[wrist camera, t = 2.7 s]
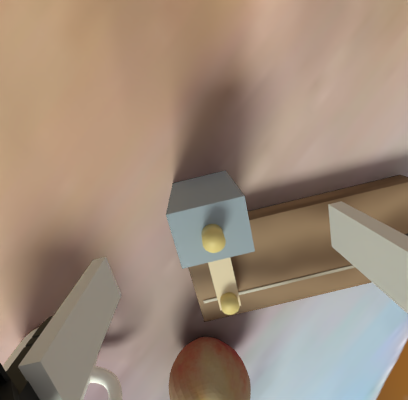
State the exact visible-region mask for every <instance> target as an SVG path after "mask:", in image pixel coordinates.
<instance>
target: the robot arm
mask: <svg viewBox="0 0 408 400" xmlns="http://www.w3.org/2000/svg"><path fill="white" fill-rule="evenodd" d="M328 208H329V220H330V232H331V245H332V247H333V248H334V249H335V250H336V251H337V252H338V253H340V254H341V255H342V256H343V257H344V258H345V259H346V260H348V261H349V262H350V263H351V264H352V265H353V266H354V267H356V268H357V269H358V270H359V271H360V272H361V273H362V274H363V275H365V276H366V277H367V278H368V279H369V280H370V281H371V282H373V283H374V284H375V285H376V286H377V287H378V288H379V289H380V290H382V291H383V292H384V293H385V294H386V295H387V296H388V297H390V298H391V299H392V300H393V301H394V302H395V303H396V304H398V305H399V306H400V307H401V308H402V309H403V310H404V311H405V312H407V313H408V233H407V234H403V233H401V232H399V231H397V230H395V229H393V228H391V227H389V226H388V225H386V224H384V223H382V222H380V221H378V220H376V219H374V218H372V217H370V216H368V215H367V214H365V213H363V212H361V211H359V210H357V209H355V208H353V207H351V206H349V205H348V204H346V203H344V202H342V201H341V202H336V203H332V204H328ZM120 298H121V293H120V290H119V288H118V285H117V283H116V280H115V278H114V275H113V273H112V270H111V268H110V265H109V263H108V261H107V258H106V257H102V258H98V259H94V260H93V261H92V262H91V264H90V265H89V266H88V268H87V269H86V271H85V272H84V273H83V275H82V276H81V278H80V279H79V281H78V282H77V283H76V285H75V286H74V288H73V289H72V290H71V292H70V293H69V295H68V296H67V298H66V299H65V300H64V302H63V303H62V305H61V306H60V307H59V309H58V310H57V312H56V313H55V315H54V316H52V317H49V318H48V319H47V320H46V321H45V322H44V323H43V324H42V325H41V326H39V328H38V329H37V330H36V332H35V333H34V334H33V336H32V338H31V339H30V340H29V341H28V343H27V344H26V347H24V348H23V349H22V351H21V352H20V353H19V355H18V356H17V358H16V359H15V360H14V362H13V363H12V364H11V366H10V367H9V368H8V370H7V371H5V370H4V368H3V366H2V365H1V363H0V400H80V398H81V396H82V393H83V391H84V388H85V386H86V383H87V380H88V378H89V375H90V373H91V370H92V368H93V365H94V363H95V360H96V358H97V355H98V353H99V350H100V348H101V345H102V343H103V340H104V338H105V335H106V333H107V330H108V328H109V325H110V323H111V320H112V318H113V315H114V313H115V310H116V308H117V305H118V303H119V300H120Z"/></svg>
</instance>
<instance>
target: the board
mask: <svg viewBox="0 0 408 400" xmlns="http://www.w3.org/2000/svg"><path fill="white" fill-rule="evenodd" d="M341 201H342V202H344V203H346V204H348V205H349V206H351V207H353V208H355V209H357V210H359V211H361V212H363V213H365V214H367V215H368V216H370V217H372V218H374V219H376V220H378V221H380V222H382V223H384V224H386V225H388V226H389V227H391V228H393V229H395V230H397V231H399V232H401V233H403V234H407V233H408V177H406V176H402V175H398V176H393V177H389V178H385V179H381V180H377V181H373V182H369V183H364V184H360V185H356V186H352V187H348V188H344V189H339V190H335V191H331V192H327V193H323V194H319V195H315V196H310V197H306V198H302V199H298V200H294V201H290V202H285V203H281V204H277V205H273V206H269V207H265V208H261V209H256V210H252V211H248V217H249V222H250V227H251V233H252V238H253V243H254V249H255V251H254V252H250V253H246V254H242V255H238V256H233V257H230V258H231V262H232V267H233V271H234V276H235V280H236V284H237V289H238V293H239V298H240V302H241V306H240V307H239V310H238V311H237V312H236V313H235V314H232V315H236V314H240V313H244V312H249V311H253V310H257V309H261V308H265V307H270V306H274V305H278V304H282V303H286V302H291V301H295V300H299V299H303V298H308V297H312V296H316V295H320V294H324V293H329V292H333V291H337V290H341V289H345V288H350V287H354V286H358V285H362V284H367V283H371V281H370V280H369V279H368V278H367V277H366V276H365V275H363V274H362V273H361V272H360V271H359V270H358V269H357V268H356V267H354V266H353V265H352V264H351V263H350V262H349V261H348V260H346V259H345V258H344V257H343V256H342V255H341V254H340V253H338V252H337V251H336V250H335V249H334V248H333V247H332V245H331V232H330V220H329V208H328V204H332V203H336V202H341ZM188 268H189V271H190V275H191V278H192V281H193V285H194V288H195V292H196V295H197V298H198V302H199V305H200V309H201V312H202V316H203V319H204V322H206V321H211V320H215V319H219V318H223V317H227V316H232V315H227V314H225V313H224V312H223V311H222V310H221V311H220V307H219V303H218V299H217V296H216V292H215V288H214V284H213V280H212V277H211V273H210V269H209V265H208V263H204V264H200V265H196V266H192V267H188Z"/></svg>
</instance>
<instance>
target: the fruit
mask: <svg viewBox="0 0 408 400" xmlns="http://www.w3.org/2000/svg"><path fill="white" fill-rule="evenodd" d="M169 395H170V400H250V379H249V376H248V373H247V370H246V368H245V366H244V363H243V361H242V360H241V358H240V357H239V355H238V354H237V352H236V351H235V350H234V349H232V348H231V347H230V346H229V345H227V344H226V343H224V342H222V341H220V340H219V339H216V338H212V337H200V338H198V339H196V340H194V341H192V342H190V343H189V344H188V345H186V346H185V347H184V348H183V349H182V351H181V352H180V353H179V355H178V356H177V358H176V360H175V362H174V364H173V366H172V369H171V373H170V379H169Z"/></svg>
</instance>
